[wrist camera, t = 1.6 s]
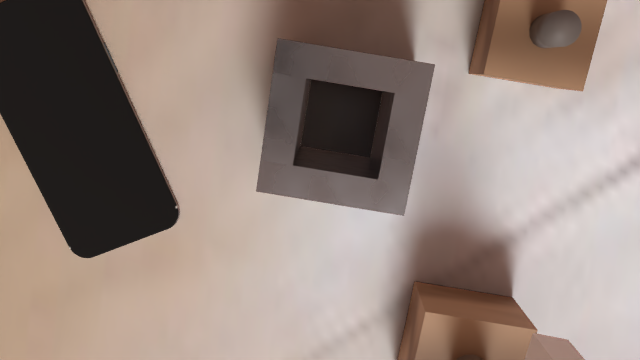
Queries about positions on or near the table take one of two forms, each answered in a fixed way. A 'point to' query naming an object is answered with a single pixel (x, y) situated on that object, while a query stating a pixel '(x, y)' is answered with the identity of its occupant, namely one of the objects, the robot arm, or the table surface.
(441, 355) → the wooden peg stand
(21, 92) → the smartphone
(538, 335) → the robot arm
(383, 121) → the grey hollow square block
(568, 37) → the block
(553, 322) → the table surface
